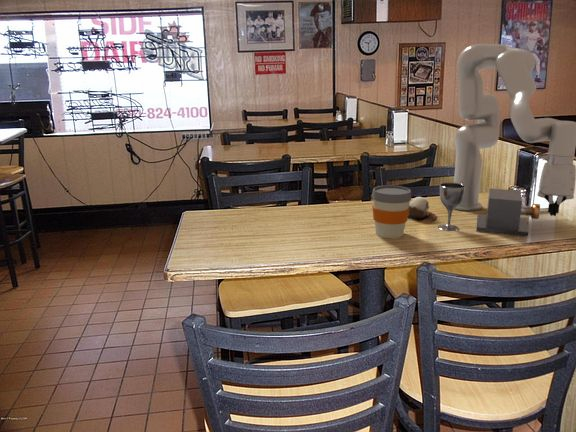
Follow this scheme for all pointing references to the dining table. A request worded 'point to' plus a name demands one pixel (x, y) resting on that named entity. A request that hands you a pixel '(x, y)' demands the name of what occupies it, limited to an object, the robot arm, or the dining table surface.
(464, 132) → the robot arm
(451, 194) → the wine glass
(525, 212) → the shaft
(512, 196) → the block
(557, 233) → the dining table surface
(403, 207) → the reusable coffee cup
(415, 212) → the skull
